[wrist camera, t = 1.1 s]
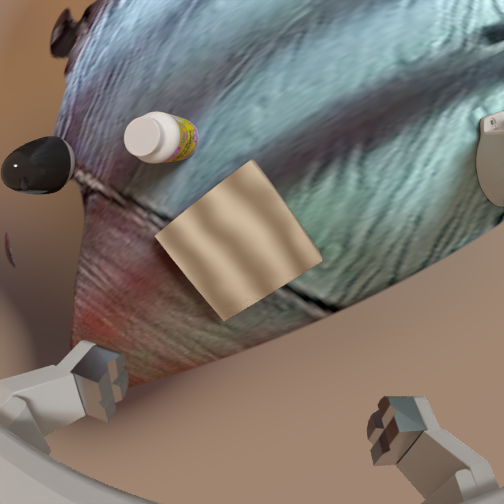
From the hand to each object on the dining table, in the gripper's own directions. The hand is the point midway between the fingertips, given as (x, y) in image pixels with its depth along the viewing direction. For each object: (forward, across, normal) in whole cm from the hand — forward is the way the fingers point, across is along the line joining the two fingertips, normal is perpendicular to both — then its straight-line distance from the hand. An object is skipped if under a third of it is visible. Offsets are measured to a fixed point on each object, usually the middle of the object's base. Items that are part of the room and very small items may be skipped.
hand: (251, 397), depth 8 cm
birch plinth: (+38, +5, +6) cm, 39 cm away
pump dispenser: (+39, +39, -3) cm, 55 cm away
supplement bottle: (+38, +16, -8) cm, 42 cm away
